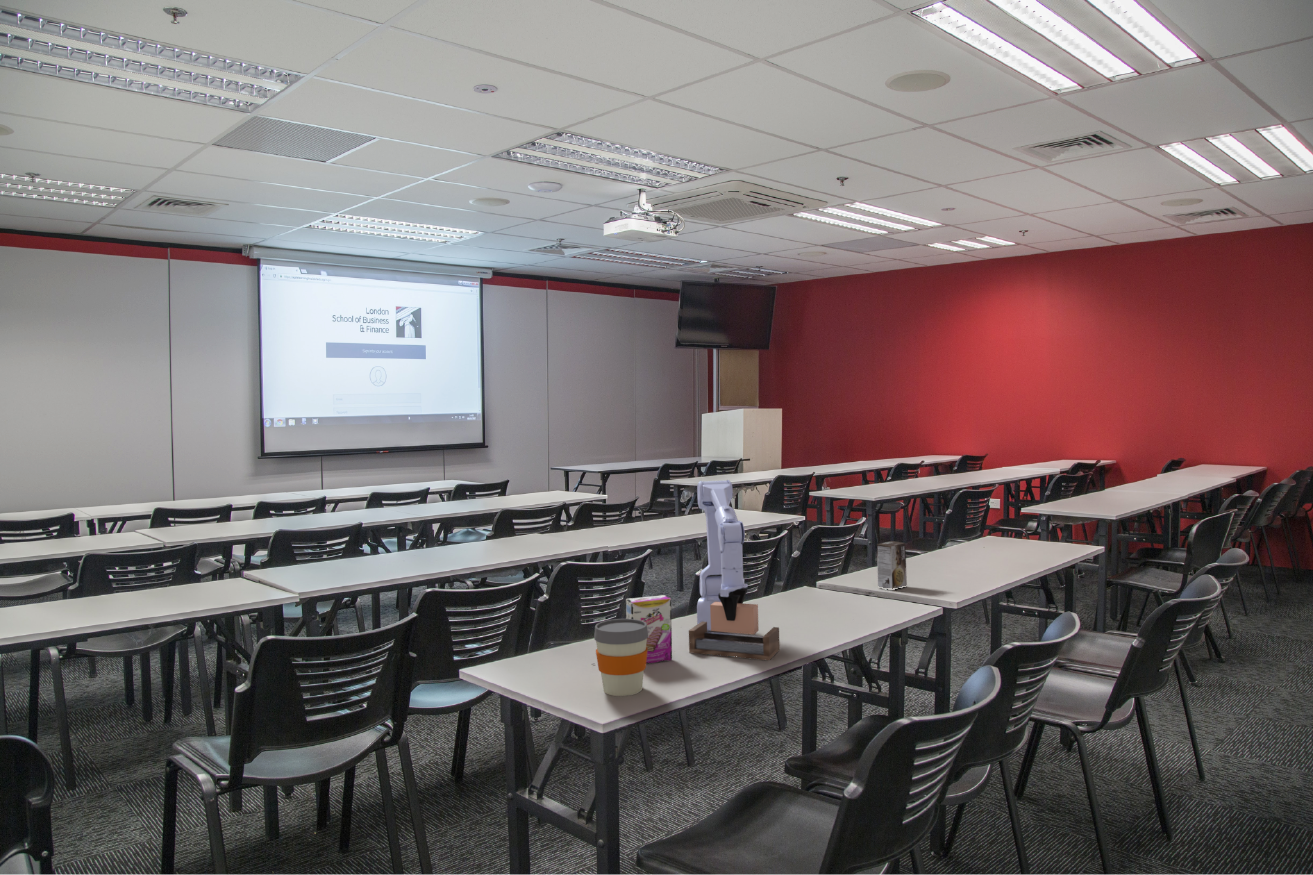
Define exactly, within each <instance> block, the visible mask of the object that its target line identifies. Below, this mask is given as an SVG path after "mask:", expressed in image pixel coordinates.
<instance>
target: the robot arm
mask: <svg viewBox="0 0 1313 875" xmlns="http://www.w3.org/2000/svg"><path fill="white" fill-rule="evenodd" d="M696 488H697V489H696V493H697V494H696V496H697V505H698V509H700V510H703V511H704V515H705V522H706V524H705V525H706V539H707V540H706V543H707V559H708V564H707V566H705V567H704V568H703V569H702V570H701V571H700V573H699V594H700V596H701V597H700V598H699V599H698V601H697V604H696V622H697V624H699V623H700V622H702V621H703V622H707V632H712V631H711V614H710V605H711V604H712V603H714V602H721V603H722V605H723V608H724V611H725V615H726V619H727V620H729V621H735V618H736V608H737V603H743V604H744V600H745V598H746V596H747V593H748V586H749V585H748V583H745V578H744V559H743V558H744V557H743V544H744V543H745V540H746V539H745V534H746V532H745V526H744V524H743V521H741V520H739V519H738V516H737V514H736V512H735V510H734V508H733V507H731V506H730V504H731V501H732V499H733V496H734V494H733V492H734V491H733V483H732V482H731V480H730V479H726V480H706V481H705V480H699V482H697V487H696ZM697 624H696V625H697Z"/></svg>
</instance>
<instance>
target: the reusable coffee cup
mask: <svg viewBox="0 0 1313 875" xmlns="http://www.w3.org/2000/svg"><path fill="white" fill-rule="evenodd" d="M593 638H594V641H595V642H596V644H595V645H596V649H595V654H596V655H595V656H596V661H597V662H596V663H597V666H598V667H597V668H598V671H599V672H600V675H601V682H602V688H603V692H604V693H605V694H607V695H609V696H615V697H628V696H632V695H633V696H634V695H636V694H639V693H640V692H642V691H643V690H642V689H643V683H644V682H643V681H644V672H645V670H646V668H647V664H646V661H647V650H648V648H647V647H646V642H647V638H648V630H647V624H646V622H644V621H641V620H636V619H626V618H614V619H607V620H602V621H601V622H597V623H596V624H595V626H594V636H593Z"/></svg>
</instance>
